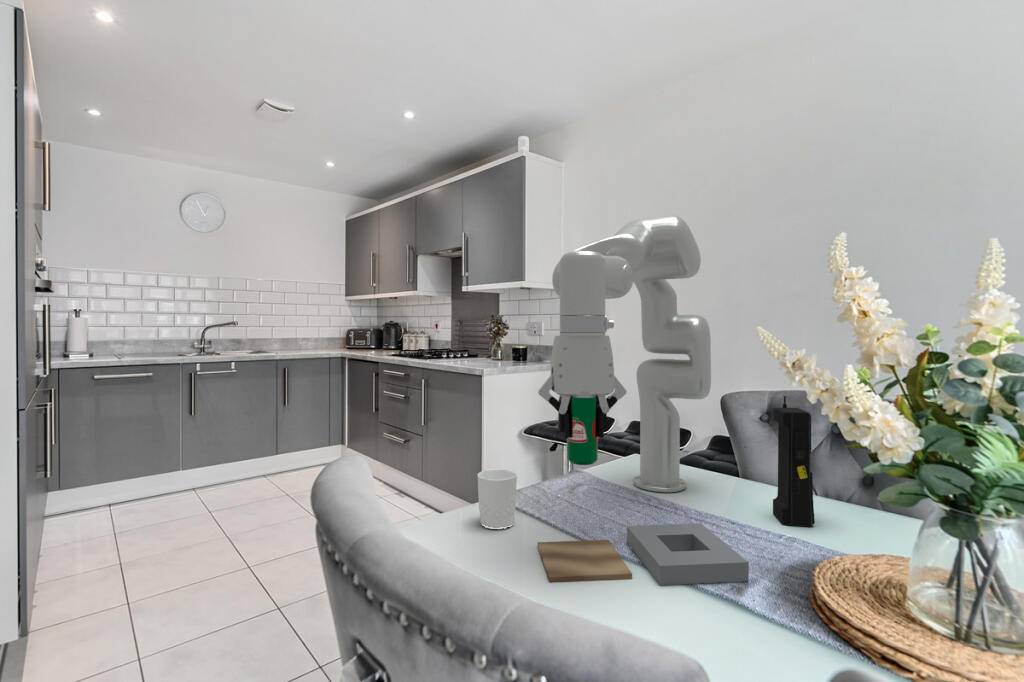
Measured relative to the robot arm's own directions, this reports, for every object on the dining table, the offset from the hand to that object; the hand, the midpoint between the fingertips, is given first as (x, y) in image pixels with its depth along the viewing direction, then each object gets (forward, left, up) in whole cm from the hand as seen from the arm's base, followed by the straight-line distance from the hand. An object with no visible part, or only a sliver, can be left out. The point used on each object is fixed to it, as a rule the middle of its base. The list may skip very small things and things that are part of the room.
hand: (582, 435), depth 85 cm
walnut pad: (0, 0, -21) cm, 21 cm away
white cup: (-18, -13, -21) cm, 31 cm away
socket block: (+1, +17, -21) cm, 27 cm away
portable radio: (-14, +47, -21) cm, 53 cm away
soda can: (0, 0, -5) cm, 5 cm away
